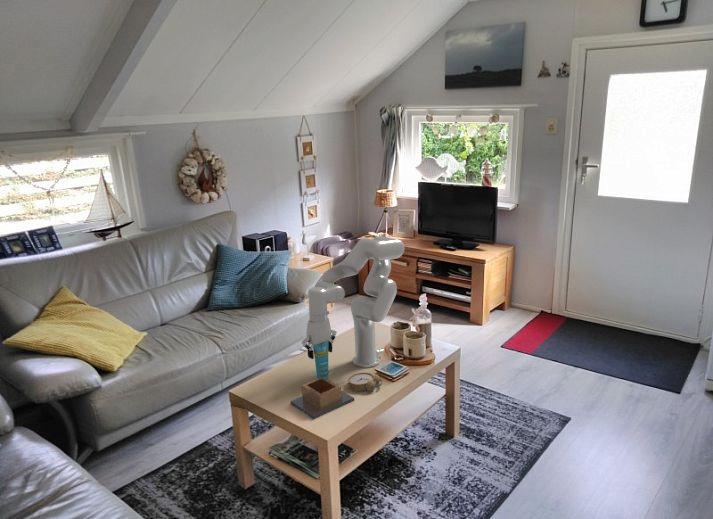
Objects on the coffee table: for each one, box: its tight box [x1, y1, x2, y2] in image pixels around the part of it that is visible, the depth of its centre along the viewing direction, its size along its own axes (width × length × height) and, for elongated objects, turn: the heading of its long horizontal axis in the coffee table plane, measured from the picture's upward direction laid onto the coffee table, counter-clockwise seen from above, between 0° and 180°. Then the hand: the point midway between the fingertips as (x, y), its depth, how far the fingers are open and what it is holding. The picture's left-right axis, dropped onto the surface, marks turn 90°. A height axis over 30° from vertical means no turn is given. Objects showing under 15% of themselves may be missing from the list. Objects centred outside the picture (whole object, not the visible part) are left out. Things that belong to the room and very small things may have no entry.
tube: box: [312, 341, 330, 380], centre depth 236 cm, size 7×5×19 cm, turn 123°
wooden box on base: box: [290, 376, 355, 420], centre depth 221 cm, size 20×16×7 cm
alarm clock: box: [345, 371, 383, 392], centre depth 233 cm, size 11×5×15 cm
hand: (320, 354), depth 234 cm, fingers open, 9 cm apart
